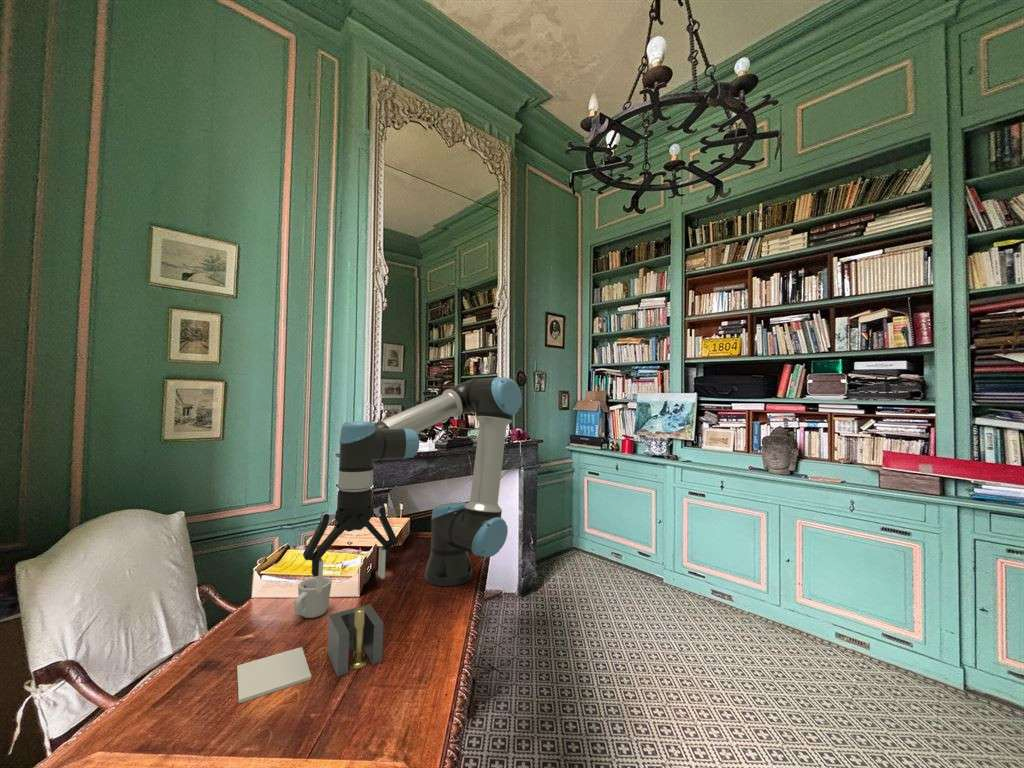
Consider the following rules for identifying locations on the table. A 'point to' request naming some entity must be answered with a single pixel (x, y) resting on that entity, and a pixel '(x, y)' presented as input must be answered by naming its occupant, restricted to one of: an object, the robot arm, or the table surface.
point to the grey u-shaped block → (344, 637)
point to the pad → (271, 674)
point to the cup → (312, 598)
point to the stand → (358, 641)
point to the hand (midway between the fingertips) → (351, 583)
